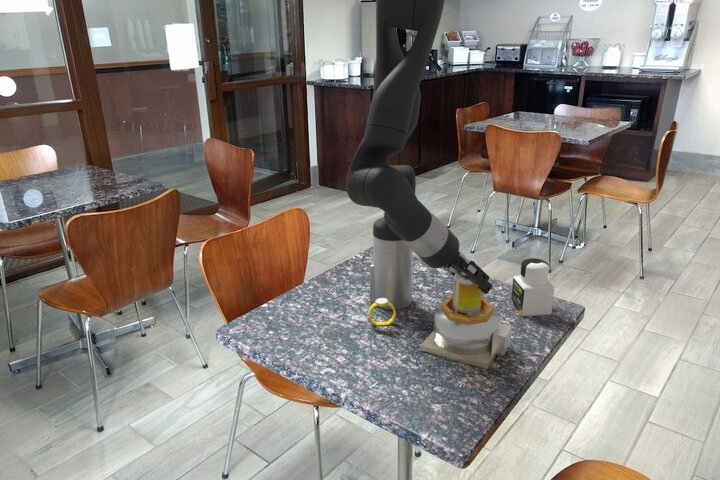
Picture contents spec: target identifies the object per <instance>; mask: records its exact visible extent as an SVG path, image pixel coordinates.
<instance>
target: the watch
mask: <svg viewBox="0 0 720 480" xmlns="http://www.w3.org/2000/svg"><path fill="white" fill-rule="evenodd" d="M386 305H389V306H391V307H392V309H393V310H392V311H393V314H392V316H391V318H390V319H388V320H387V321H375V320H374V319H373V318H372V312H373V310H374V309H375V308H376V307H378V306H386ZM396 310H397V309H396ZM396 310H395V307H394V306H393V304H392V303H390V302H388V300H387V299H386V298H379V299H377V300H376V302H375V303H372V304H371V305H370V307H368V319H369V321H370V323H371V324H373V325H374V326H376V327H379V326H390V325H391V324H393V323H394V322H395V319H396V317H397V311H396Z"/></svg>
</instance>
